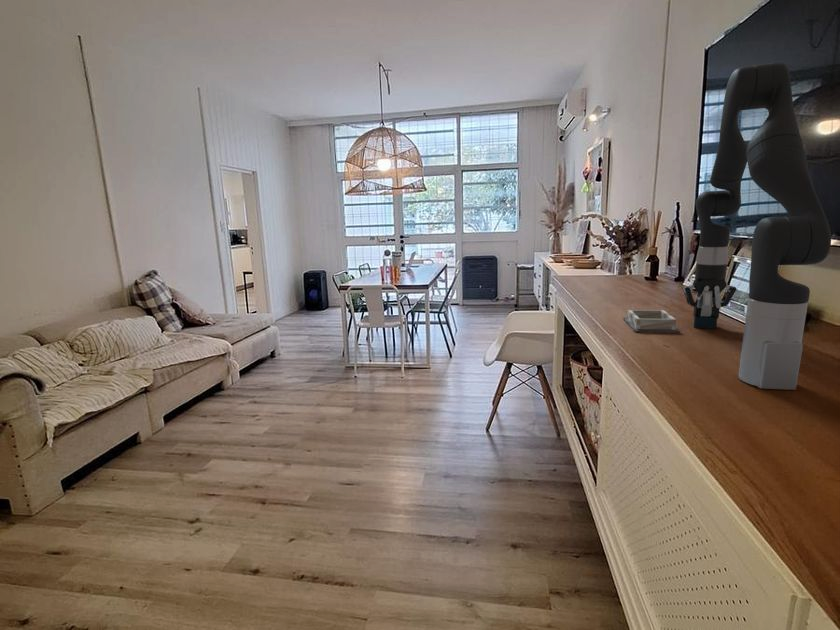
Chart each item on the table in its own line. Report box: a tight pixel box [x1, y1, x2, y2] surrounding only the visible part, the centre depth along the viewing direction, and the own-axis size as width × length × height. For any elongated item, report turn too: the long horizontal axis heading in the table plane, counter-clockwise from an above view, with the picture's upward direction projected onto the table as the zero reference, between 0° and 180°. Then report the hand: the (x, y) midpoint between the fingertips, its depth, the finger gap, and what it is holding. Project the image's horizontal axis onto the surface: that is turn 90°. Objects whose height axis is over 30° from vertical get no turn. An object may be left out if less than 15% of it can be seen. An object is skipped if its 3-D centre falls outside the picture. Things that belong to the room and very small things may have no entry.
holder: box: [622, 309, 681, 334], centre depth 134 cm, size 16×12×4 cm
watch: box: [693, 291, 718, 330], centre depth 130 cm, size 6×8×11 cm
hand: (705, 319), depth 130 cm, fingers closed on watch, 3 cm apart
